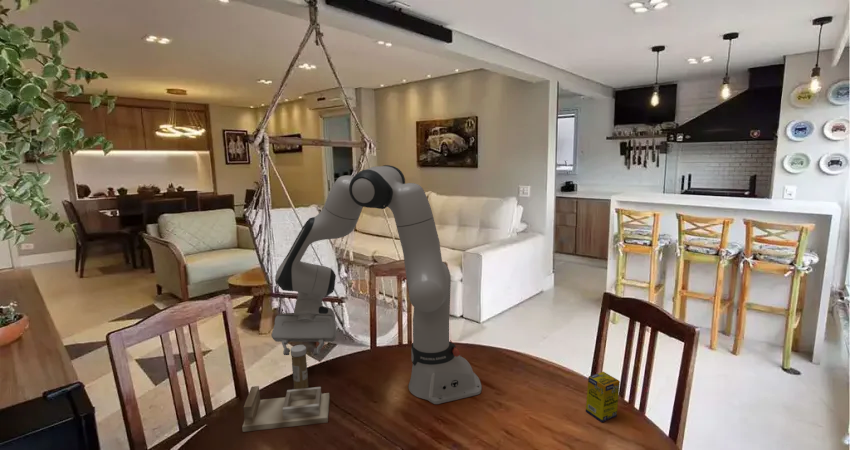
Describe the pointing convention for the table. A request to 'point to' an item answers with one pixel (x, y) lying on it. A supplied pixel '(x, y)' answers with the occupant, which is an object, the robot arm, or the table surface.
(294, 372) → the sprinkles bottle
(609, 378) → the supplement box
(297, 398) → the caddy
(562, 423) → the table surface
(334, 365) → the table surface
